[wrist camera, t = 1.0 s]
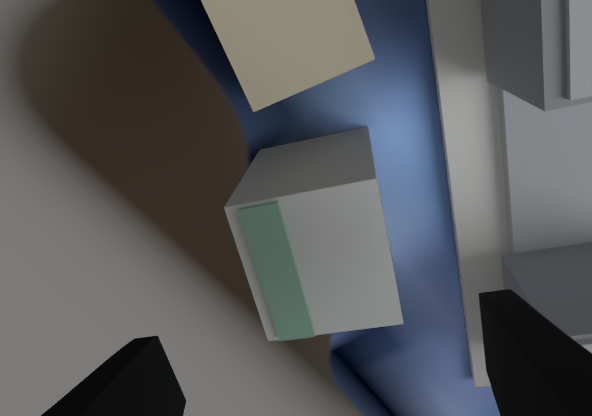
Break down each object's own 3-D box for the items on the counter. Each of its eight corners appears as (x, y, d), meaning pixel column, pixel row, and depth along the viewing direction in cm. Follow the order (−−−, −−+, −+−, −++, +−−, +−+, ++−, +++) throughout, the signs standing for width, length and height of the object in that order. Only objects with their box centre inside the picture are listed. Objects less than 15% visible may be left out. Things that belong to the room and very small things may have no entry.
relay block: (368, 48, 17) (375, 59, 13) (272, 90, 18) (253, 112, 14) (328, -66, 15) (322, -89, 12) (226, -13, 16) (192, -18, 13)
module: (388, 236, 20) (404, 328, 14) (289, 252, 21) (267, 345, 15) (367, 126, 18) (376, 180, 12) (259, 149, 19) (222, 210, 13)
